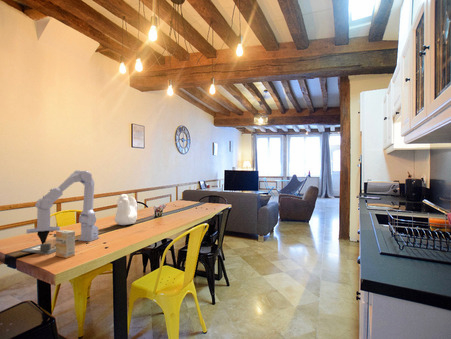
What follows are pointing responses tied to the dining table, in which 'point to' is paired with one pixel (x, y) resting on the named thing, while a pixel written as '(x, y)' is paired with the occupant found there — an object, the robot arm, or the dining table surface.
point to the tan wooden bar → (48, 244)
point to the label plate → (37, 250)
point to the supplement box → (65, 243)
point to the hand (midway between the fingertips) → (43, 244)
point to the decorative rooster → (126, 210)
